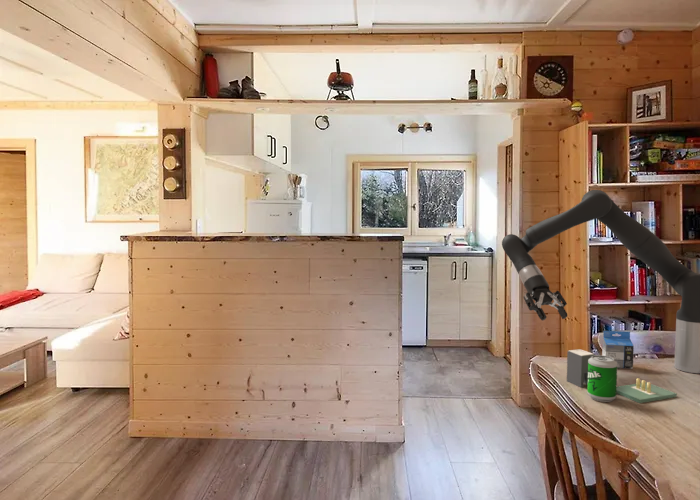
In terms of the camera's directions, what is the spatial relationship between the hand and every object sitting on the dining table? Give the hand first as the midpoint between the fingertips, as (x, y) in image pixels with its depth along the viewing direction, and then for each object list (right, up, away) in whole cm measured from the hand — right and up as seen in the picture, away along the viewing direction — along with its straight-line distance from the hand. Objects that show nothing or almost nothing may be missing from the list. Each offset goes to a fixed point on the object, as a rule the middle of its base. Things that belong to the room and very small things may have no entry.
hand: (554, 318), depth 160 cm
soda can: (+4, -20, -22) cm, 30 cm away
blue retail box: (+24, -18, +6) cm, 31 cm away
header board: (+18, -20, -19) cm, 33 cm away
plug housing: (+4, -19, -10) cm, 22 cm away
